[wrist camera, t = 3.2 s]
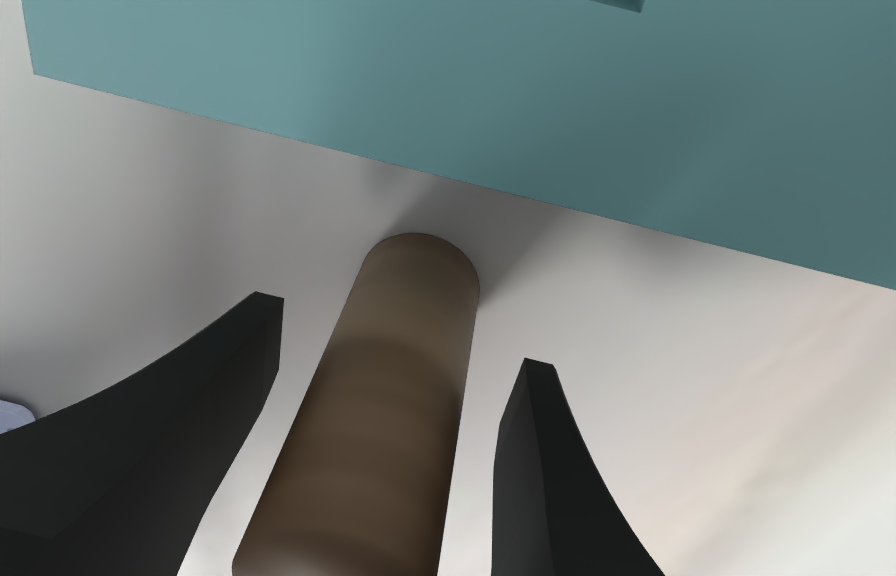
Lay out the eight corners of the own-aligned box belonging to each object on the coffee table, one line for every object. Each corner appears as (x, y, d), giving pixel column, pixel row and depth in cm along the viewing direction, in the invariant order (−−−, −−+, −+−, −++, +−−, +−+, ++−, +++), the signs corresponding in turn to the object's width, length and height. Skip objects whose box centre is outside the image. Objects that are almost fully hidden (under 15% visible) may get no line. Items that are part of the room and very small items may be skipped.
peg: (464, 344, 17) (413, 660, 10) (353, 317, 17) (230, 618, 10) (492, 250, 15) (451, 559, 9) (368, 219, 15) (232, 506, 9)
